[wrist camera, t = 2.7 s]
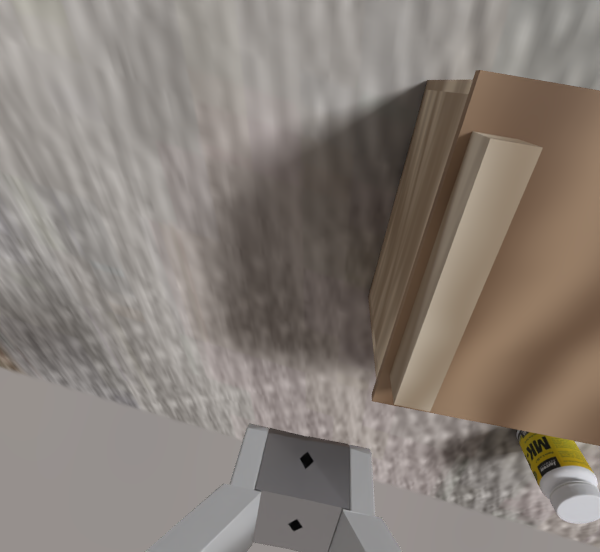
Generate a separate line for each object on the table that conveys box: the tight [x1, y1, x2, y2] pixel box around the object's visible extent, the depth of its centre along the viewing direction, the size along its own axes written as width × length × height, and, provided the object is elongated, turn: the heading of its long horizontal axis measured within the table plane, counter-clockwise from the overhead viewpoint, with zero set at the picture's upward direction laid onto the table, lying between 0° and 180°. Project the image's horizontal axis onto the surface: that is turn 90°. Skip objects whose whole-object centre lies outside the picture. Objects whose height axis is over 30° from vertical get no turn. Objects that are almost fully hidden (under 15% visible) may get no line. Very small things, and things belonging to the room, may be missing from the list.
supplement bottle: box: [517, 430, 600, 524], centre depth 37 cm, size 5×5×8 cm
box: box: [368, 80, 473, 380], centre depth 26 cm, size 18×18×12 cm
